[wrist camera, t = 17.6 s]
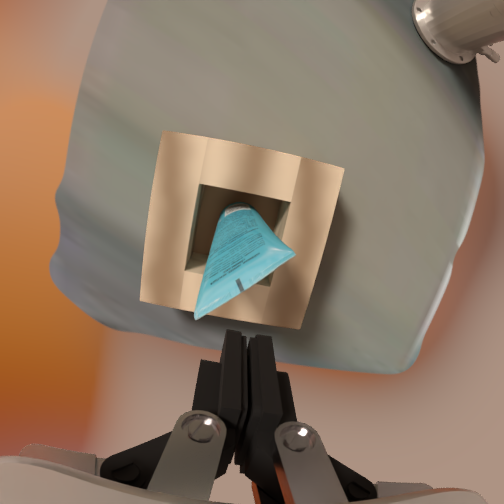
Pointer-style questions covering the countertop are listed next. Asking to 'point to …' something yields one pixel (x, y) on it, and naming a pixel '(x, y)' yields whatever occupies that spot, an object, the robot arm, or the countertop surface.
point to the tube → (238, 257)
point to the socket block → (208, 212)
